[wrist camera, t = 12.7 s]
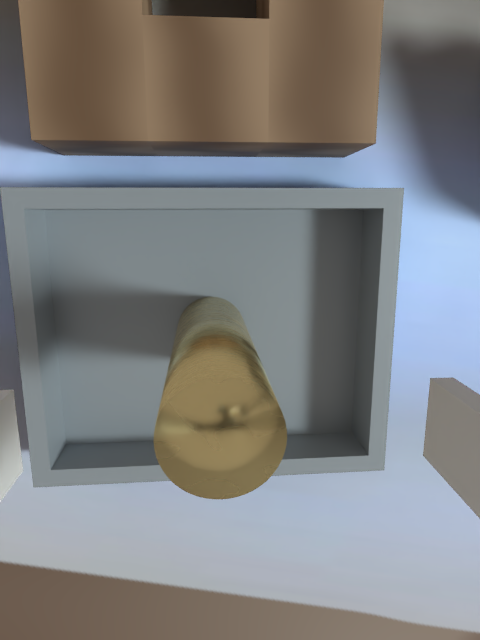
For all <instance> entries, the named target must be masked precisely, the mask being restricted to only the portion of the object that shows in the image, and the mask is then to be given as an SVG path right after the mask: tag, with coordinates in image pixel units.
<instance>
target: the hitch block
mask: <svg viewBox="0 0 480 640" xmlns="http://www.w3.org/2000/svg"><path fill="white" fill-rule="evenodd" d="M383 5H384V0H256V18H227V17H196V16H164V15H152V0H18V6H19V16H20V27H21V37H22V48H23V58H24V69H25V79H26V90H27V100H28V111H29V121H30V132H31V140H33V141H35V142H37V143H39V144H41V145H43V146H45V147H47V148H49V149H52V150H54V151H56V152H58V153H60V154H62V155H92V156H226V157H346V156H348V155H350V154H353V153H355V152H357V151H360V150H362V149H364V148H366V147H369V146H371V145H373V144H375V143H376V129H377V111H378V93H379V76H380V58H381V40H382V22H383Z"/></svg>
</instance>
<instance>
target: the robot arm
mask: <svg viewBox="0 0 480 640" xmlns="http://www.w3.org/2000/svg"><path fill="white" fill-rule="evenodd" d="M423 456H424V457H425V458H426V459H427V460H428V462H429V463H430V464H431V465H432V466H433V467H434V468H435V469H436V470H437V472H438V473H439V474H440V475H441V476H442V477H443V478H444V479H445V480H446V482H447V483H448V484H449V485H450V486H451V487H452V488H453V489H454V490H455V492H456V493H457V494H458V495H459V496H460V497H461V498H462V499H463V500H464V502H465V503H466V504H467V505H468V506H469V507H470V508H471V509H472V510H473V511H474V513H475V514H476V515H477V516H478V517H479V518H480V395H479V394H477V393H476V392H474V391H473V390H471V389H470V388H468V387H467V386H465V385H464V384H462V383H461V382H459V381H458V380H456V379H455V378H430V388H429V399H428V409H427V420H426V431H425V441H424V452H423ZM22 472H23V466H22V457H21V449H20V440H19V432H18V424H17V415H16V407H15V398H14V390H0V502H1V501H2V499H3V498H4V497H5V495H6V494H7V492H8V491H9V490H10V488H11V487H12V486H13V484H14V483H15V481H16V480H17V479H18V477H19V476H20V475H21V473H22Z"/></svg>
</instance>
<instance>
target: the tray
mask: <svg viewBox="0 0 480 640" xmlns="http://www.w3.org/2000/svg"><path fill="white" fill-rule="evenodd" d="M0 192H1V201H2V210H3V219H4V228H5V237H6V246H7V255H8V264H9V273H10V282H11V291H12V300H13V309H14V317H15V326H16V335H17V344H18V353H19V362H20V371H21V380H22V389H23V398H24V407H25V416H26V425H27V434H28V443H29V452H30V461H31V470H32V479H33V487H51V486H72V485H92V484H113V483H134V482H154V481H171V480H170V479H169V478H168V477H167V476H166V474H165V473H164V472H163V470H162V468H161V467H160V465H159V463H158V460H157V458H156V454H155V450H154V430H155V424H156V420H157V415H158V411H159V406H160V402H161V398H162V393H163V389H164V384H165V380H166V375H167V371H168V366H169V362H170V357H171V353H172V348H173V344H174V340H175V335H176V331H177V326H178V322H179V319H180V316H181V314H182V312H183V311H184V310H185V308H186V307H187V306H188V305H189V304H191V303H192V302H194V301H196V300H198V299H200V298H204V297H219V298H222V299H225V300H227V301H229V302H230V303H232V304H233V305H234V306H235V307H236V308H237V309H238V310H239V312H240V314H241V316H242V318H243V320H244V322H245V325H246V327H247V330H248V332H249V334H250V337H251V339H252V342H253V344H254V346H255V349H256V351H257V354H258V356H259V358H260V361H261V363H262V365H263V368H264V370H265V373H266V375H267V377H268V380H269V382H270V385H271V387H272V389H273V392H274V394H275V396H276V399H277V401H278V404H279V406H280V408H281V411H282V413H283V416H284V419H285V422H286V428H287V444H286V449H285V453H284V456H283V458H282V461H281V462H280V464H279V466H278V468H277V469H276V471H275V472H274V473H273V475H272V476H277V475H298V474H319V473H339V472H360V471H380V470H384V465H385V451H386V436H387V422H388V408H389V394H390V379H391V365H392V351H393V337H394V323H395V308H396V294H397V280H398V266H399V252H400V237H401V223H402V209H403V195H404V188H83V187H0Z"/></svg>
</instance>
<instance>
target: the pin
mask: <svg viewBox="0 0 480 640" xmlns="http://www.w3.org/2000/svg"><path fill="white" fill-rule="evenodd" d="M286 444H287V428H286V422H285V419H284V416H283V413H282V411H281V408H280V406H279V404H278V401H277V399H276V396H275V394H274V392H273V389H272V387H271V385H270V382H269V380H268V377H267V375H266V373H265V370H264V368H263V365H262V363H261V361H260V358H259V356H258V354H257V351H256V349H255V346H254V344H253V342H252V339H251V337H250V334H249V332H248V330H247V327H246V325H245V322H244V320H243V318H242V316H241V314H240V312H239V310H238V309H237V308H236V307H235V306H234V305H233V304H232V303H230V302H229V301H227V300H225V299H222V298H219V297H204V298H200V299H198V300H196V301H194V302H192V303H191V304H189V305H188V306H187V307H186V308H185V310H184V311H183V312H182V314H181V316H180V319H179V322H178V326H177V331H176V335H175V340H174V344H173V348H172V353H171V357H170V362H169V366H168V371H167V375H166V380H165V384H164V389H163V393H162V398H161V402H160V406H159V411H158V415H157V420H156V424H155V430H154V450H155V454H156V458H157V460H158V463H159V465H160V467H161V468H162V470H163V472H164V473H165V474H166V476H167V477H168V478H169V479H170V480H171V481H172V482H173V483H174V484H175V485H177V486H178V487H179V488H181V489H182V490H184V491H186V492H188V493H190V494H193V495H195V496H199V497H203V498H208V499H228V498H234V497H238V496H241V495H244V494H247V493H249V492H251V491H253V490H255V489H256V488H258V487H259V486H261V485H262V484H263V483H264V482H266V481H267V480H268V479H269V478H270V477H271V476H272V475H273V473H274V472H275V471H276V469H277V468H278V466H279V464H280V462H281V461H282V458H283V456H284V453H285V449H286Z"/></svg>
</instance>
